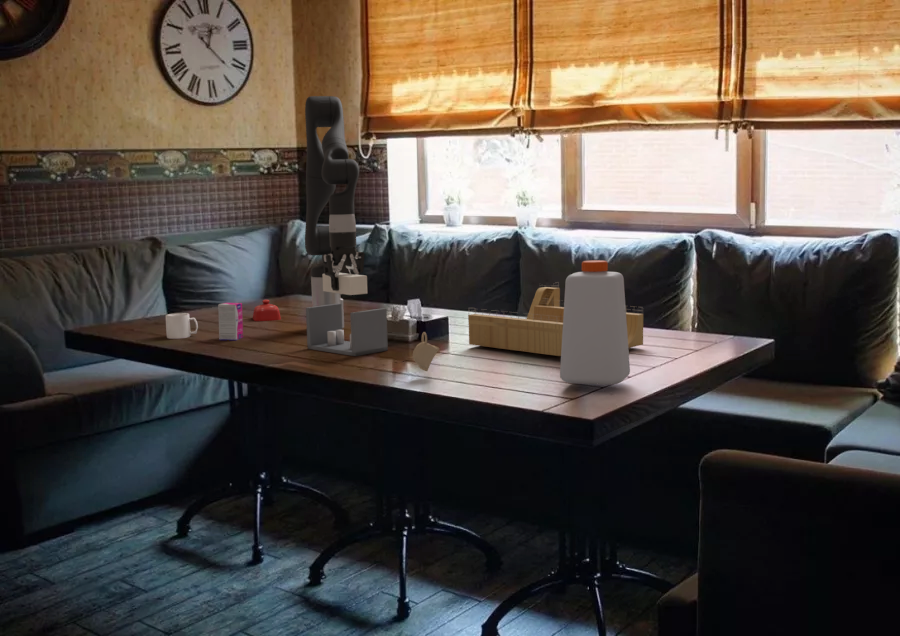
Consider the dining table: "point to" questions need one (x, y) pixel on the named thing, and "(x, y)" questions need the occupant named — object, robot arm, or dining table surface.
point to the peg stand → (329, 333)
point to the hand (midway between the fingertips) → (344, 289)
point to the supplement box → (230, 321)
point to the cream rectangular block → (347, 284)
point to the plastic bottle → (594, 327)
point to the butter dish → (266, 312)
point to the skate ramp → (536, 327)
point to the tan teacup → (424, 353)
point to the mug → (179, 325)
